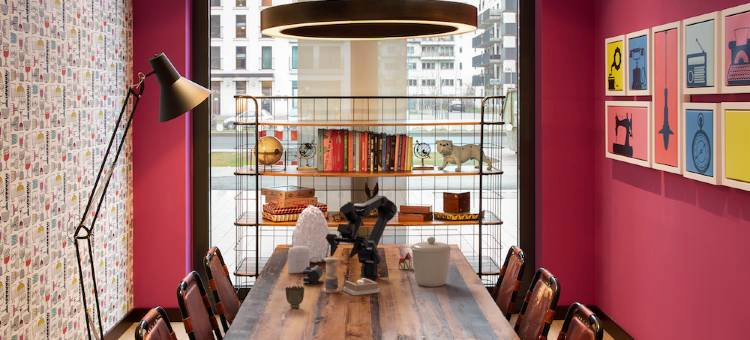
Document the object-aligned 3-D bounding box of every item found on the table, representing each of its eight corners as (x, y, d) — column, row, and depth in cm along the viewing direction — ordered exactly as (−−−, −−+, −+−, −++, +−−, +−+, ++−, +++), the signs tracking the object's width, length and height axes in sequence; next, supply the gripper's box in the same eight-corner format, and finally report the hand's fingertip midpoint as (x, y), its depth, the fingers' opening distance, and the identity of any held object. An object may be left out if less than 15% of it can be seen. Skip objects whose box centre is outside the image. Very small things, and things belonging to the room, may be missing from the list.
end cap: (318, 285, 377) (319, 270, 376) (302, 284, 377) (302, 269, 377) (323, 280, 387) (323, 265, 386) (307, 280, 387) (307, 265, 387)
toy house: (413, 270, 411) (413, 253, 410) (398, 270, 411) (398, 253, 410) (411, 268, 417) (411, 251, 416) (397, 268, 416) (397, 251, 416)
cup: (285, 305, 339) (285, 285, 339) (304, 305, 340) (304, 285, 339) (285, 310, 332) (285, 289, 331) (304, 310, 333) (304, 289, 332)
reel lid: (366, 282, 384) (366, 276, 384) (373, 284, 379) (373, 279, 379) (354, 283, 382) (354, 277, 381) (361, 286, 376) (361, 280, 376)
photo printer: (307, 270, 408) (307, 244, 407) (310, 272, 404) (310, 246, 403) (286, 272, 403) (286, 246, 402) (290, 274, 399) (289, 247, 398)
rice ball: (295, 255, 447) (295, 201, 445) (332, 255, 447) (332, 201, 445) (289, 265, 419) (289, 208, 417) (328, 266, 419) (328, 208, 417)
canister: (424, 278, 391) (424, 232, 390) (459, 283, 381) (459, 236, 379) (401, 285, 377) (402, 237, 375) (437, 291, 366) (438, 241, 365)
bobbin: (335, 288, 370) (335, 256, 368) (341, 291, 364) (341, 259, 363) (321, 290, 367) (321, 258, 365) (327, 293, 361) (327, 260, 360)
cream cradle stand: (368, 287, 372) (368, 278, 372) (379, 292, 363) (379, 282, 363) (343, 290, 367) (343, 281, 366) (354, 295, 358) (354, 285, 357)
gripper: (327, 215, 379) (314, 243, 370) (365, 218, 370) (353, 247, 361) (336, 230, 386) (324, 259, 377) (374, 233, 378) (362, 263, 369)
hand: (340, 256), depth 371 cm, fingers open, 9 cm apart
